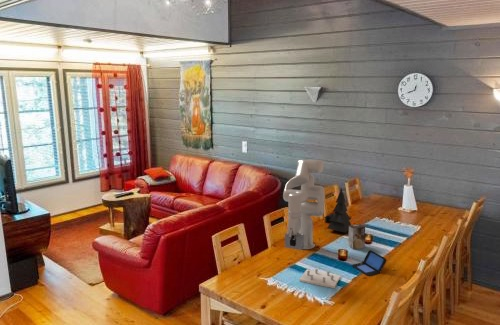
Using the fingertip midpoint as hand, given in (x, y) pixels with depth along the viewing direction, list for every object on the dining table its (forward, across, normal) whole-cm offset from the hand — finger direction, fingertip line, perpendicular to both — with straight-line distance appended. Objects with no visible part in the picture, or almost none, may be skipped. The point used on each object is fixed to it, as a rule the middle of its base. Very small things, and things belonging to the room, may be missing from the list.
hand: (294, 243), depth 231 cm
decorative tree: (+18, -76, +7) cm, 79 cm away
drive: (+2, 0, 0) cm, 2 cm away
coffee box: (+18, -52, +25) cm, 60 cm away
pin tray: (+17, +2, +17) cm, 24 cm away
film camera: (+18, -96, -3) cm, 97 cm away
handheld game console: (+18, -22, +39) cm, 48 cm away
